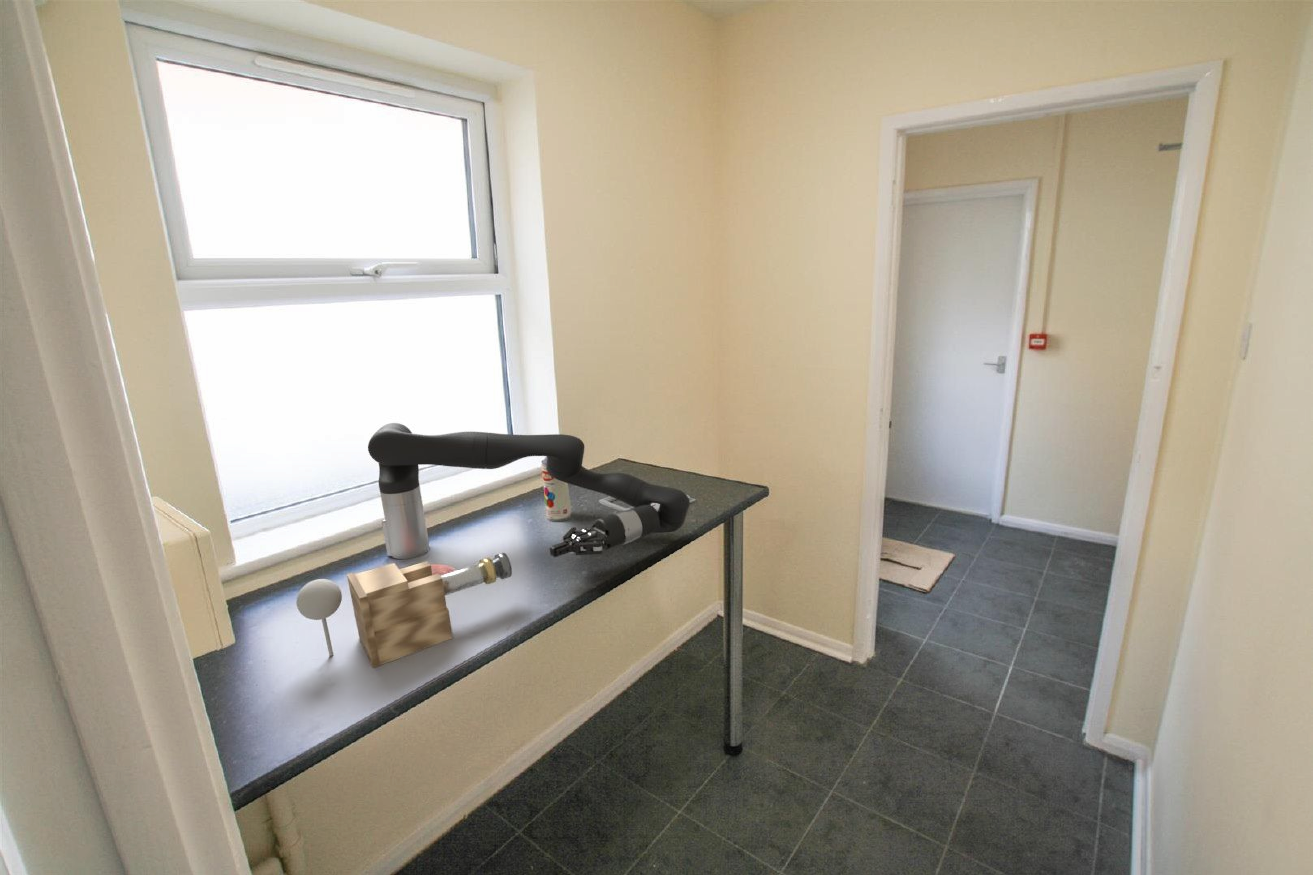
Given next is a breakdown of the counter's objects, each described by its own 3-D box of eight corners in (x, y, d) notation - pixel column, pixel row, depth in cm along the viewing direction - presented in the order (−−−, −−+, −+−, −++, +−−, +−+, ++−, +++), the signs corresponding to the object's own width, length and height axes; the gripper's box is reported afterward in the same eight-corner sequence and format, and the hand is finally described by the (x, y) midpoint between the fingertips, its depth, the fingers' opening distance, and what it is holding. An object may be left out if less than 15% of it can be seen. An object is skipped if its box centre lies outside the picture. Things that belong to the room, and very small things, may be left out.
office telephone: (696, 495, 179) (646, 514, 166) (697, 503, 180) (646, 523, 167) (645, 478, 196) (595, 495, 183) (645, 486, 197) (596, 503, 184)
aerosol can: (542, 518, 173) (534, 450, 168) (561, 511, 178) (555, 445, 173) (556, 523, 168) (549, 454, 163) (575, 516, 173) (569, 449, 168)
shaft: (427, 609, 115) (423, 584, 113) (419, 599, 119) (415, 575, 117) (513, 580, 124) (510, 557, 123) (503, 571, 128) (500, 549, 127)
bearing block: (373, 667, 107) (359, 598, 104) (359, 638, 116) (346, 574, 113) (453, 637, 115) (442, 572, 112) (434, 612, 124) (424, 551, 121)
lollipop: (359, 642, 115) (345, 570, 111) (341, 665, 108) (325, 589, 105) (321, 645, 115) (306, 573, 111) (301, 668, 108) (284, 592, 104)
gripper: (601, 507, 145) (535, 527, 135) (633, 521, 135) (564, 545, 125) (604, 535, 147) (539, 558, 137) (635, 552, 137) (568, 578, 127)
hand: (551, 552), depth 131 cm, fingers closed
